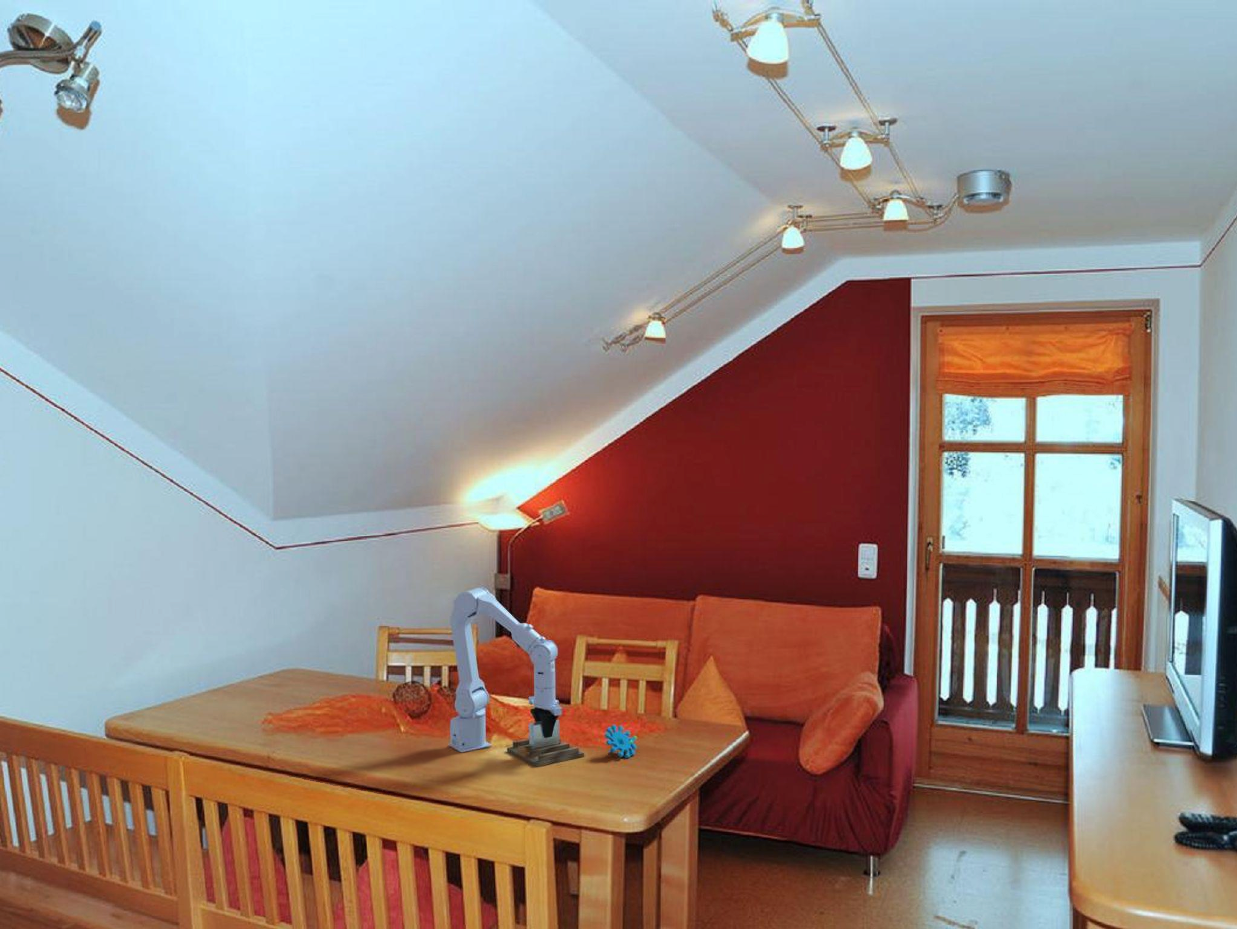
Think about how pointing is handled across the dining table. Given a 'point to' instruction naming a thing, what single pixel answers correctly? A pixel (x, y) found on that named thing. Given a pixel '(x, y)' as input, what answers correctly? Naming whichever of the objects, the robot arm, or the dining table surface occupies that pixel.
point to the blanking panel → (542, 736)
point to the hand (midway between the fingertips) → (545, 735)
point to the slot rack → (544, 753)
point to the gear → (620, 741)
